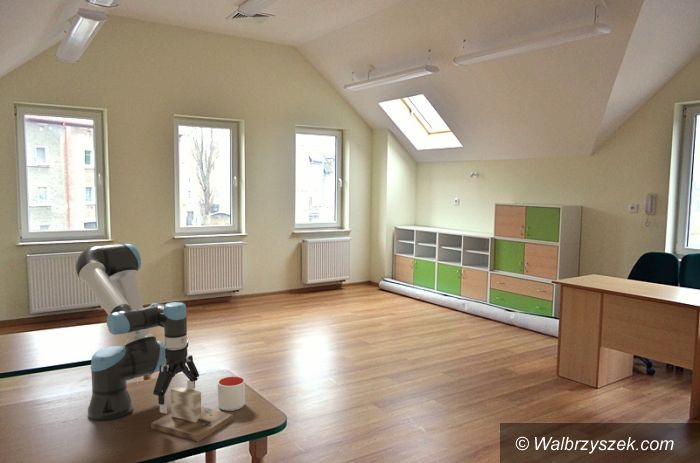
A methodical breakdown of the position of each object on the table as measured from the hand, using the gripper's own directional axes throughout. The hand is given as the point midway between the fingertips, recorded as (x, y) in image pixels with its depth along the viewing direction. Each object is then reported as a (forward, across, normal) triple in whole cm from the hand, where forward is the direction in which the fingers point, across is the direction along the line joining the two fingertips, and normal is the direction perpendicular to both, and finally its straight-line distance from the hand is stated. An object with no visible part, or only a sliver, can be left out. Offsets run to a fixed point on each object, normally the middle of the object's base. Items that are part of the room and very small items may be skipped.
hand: (177, 405), depth 192 cm
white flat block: (+4, 0, -6) cm, 7 cm away
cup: (+7, +19, -9) cm, 22 cm away
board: (+6, +1, -6) cm, 9 cm away
